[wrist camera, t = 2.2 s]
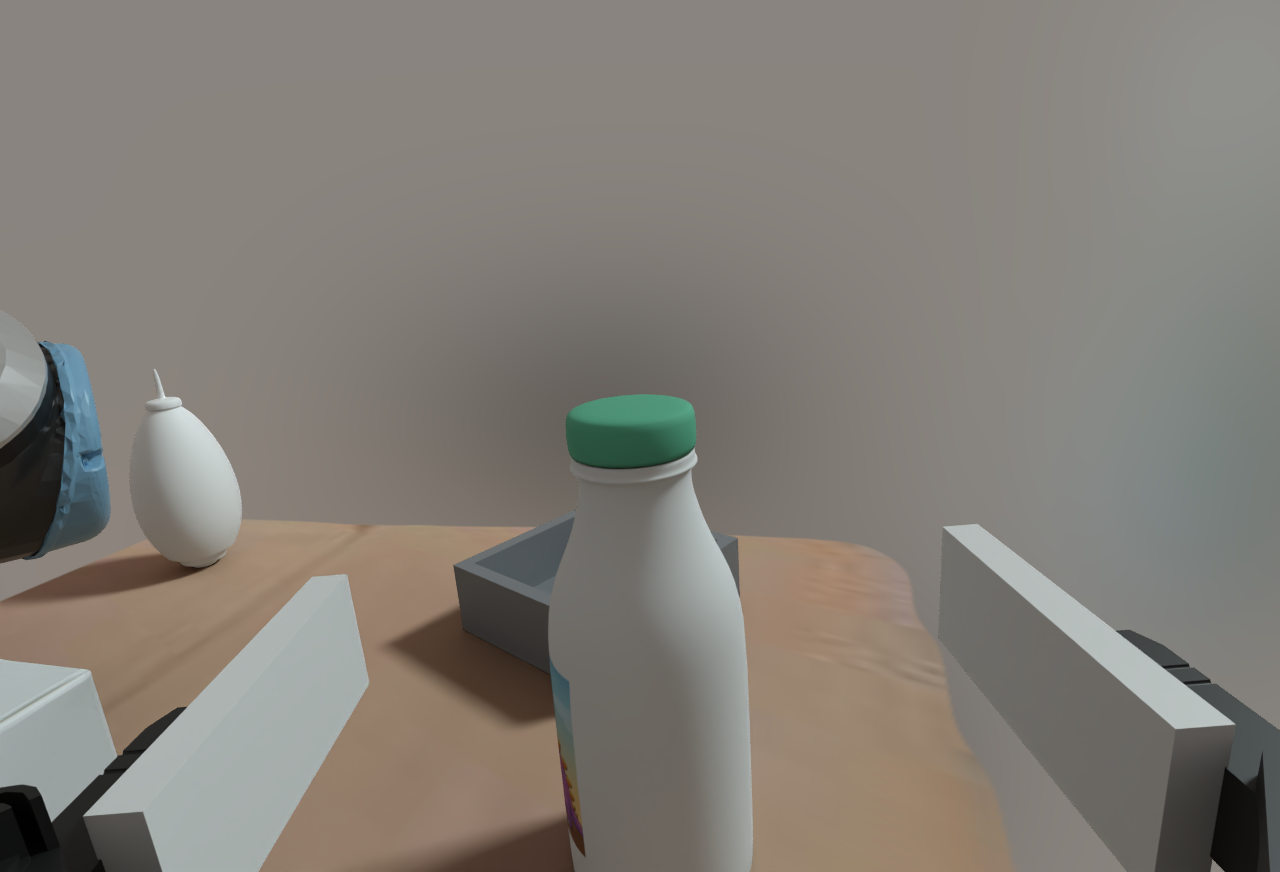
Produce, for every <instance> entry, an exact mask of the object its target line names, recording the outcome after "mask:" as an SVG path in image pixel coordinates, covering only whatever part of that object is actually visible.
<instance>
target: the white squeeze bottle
mask: <svg viewBox="0 0 1280 872" xmlns="http://www.w3.org/2000/svg"><path fill="white" fill-rule="evenodd" d="M153 376H154V381H155V386H156V391H157V395H158V399H153V400H150V401H148V402H146V403H145V410H147V411H148V412H147V413H146V415H145V416H144V417H143V419H142V421H141V423H140V425H139V427H138V429H137V432H136V435H135V439H134V443H133V447H132V453H131V460H130V492H131V499H132V504H133V508H134V512H135V515H136V518H137V520H138V523H139V525H140V527H141V529H142V531H143V533H144V534H145V536H146V537H147V539H148V540H149V541H150V543H151V544H152V545H153V546H154V547H155V548H156V549H157V550H158V551H159V552H160V553H161V554H162V555H163V556H164V557H166V558H167V559H169V560H171V561H177V562H180V563H181V564H182V565H184V566H190V567H191V566H193V567H196V568H201V567H206V566H209V565H211V564H213V563H215V562H216V561H217V560H218V559H220V558H221V557H223V556H224V555H225V554H226V549H227V548H229V547H230V546H232V545H233V544H234V543H235V540H236V537H237V535H238V532H239V528H240V524H241V516H242V503H241V495H240V490H239V486H238V483H237V480H236V476H235V474H234V471H233V469H232V467H231V465H230V462H229V460H228V458H227V456H226V454H225V453H224V451H223V450H222V448H221V446H220V445H219V443H218V442H217V440H216V439H215V438H214V436H213V435H212V434H211V432H210V431H209V430H208V429H207V427H205V425H204V424H203V423H202V422H201V421H200V420H199V419H198V418H197V417H196V416H194V415H193V414H192V413H191V412H189V411H188V410H186V409H185V408H183V407H181V405H182V401H181V400H180V399H179V398H177V397H165V395H164V392H163V388H162V385H161V382H160V379H159V376H158V374H157V371H156V370H155V369H154V370H153Z"/></svg>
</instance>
